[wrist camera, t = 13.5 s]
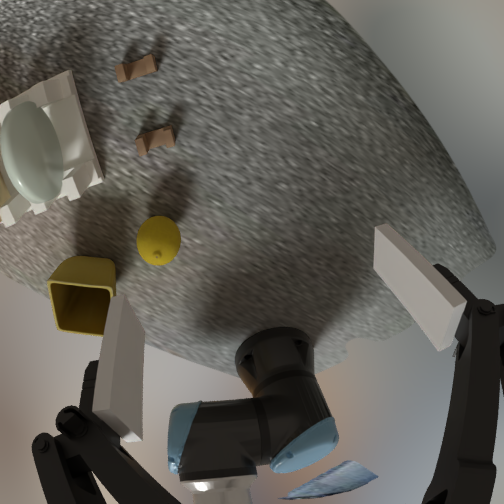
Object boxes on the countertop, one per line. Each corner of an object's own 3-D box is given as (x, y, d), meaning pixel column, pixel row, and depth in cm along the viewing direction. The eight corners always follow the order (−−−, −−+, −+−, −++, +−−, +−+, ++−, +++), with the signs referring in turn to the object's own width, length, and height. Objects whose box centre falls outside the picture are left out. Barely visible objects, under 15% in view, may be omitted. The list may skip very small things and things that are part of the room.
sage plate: (72, 178, 34) (38, 217, 25) (63, 182, 34) (28, 222, 24) (45, 96, 28) (-1, 109, 19) (35, 101, 28) (-12, 116, 18)
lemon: (134, 212, 40) (126, 242, 34) (174, 201, 41) (173, 229, 34) (147, 247, 43) (142, 281, 37) (185, 237, 44) (186, 270, 37)
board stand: (175, 140, 36) (174, 145, 34) (142, 150, 36) (139, 156, 34) (154, 55, 30) (151, 54, 28) (119, 66, 30) (114, 66, 28)
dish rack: (104, 179, 37) (90, 200, 31) (3, 220, 36) (-20, 245, 30) (71, 69, 29) (48, 70, 23) (-33, 128, 27) (-62, 141, 21)
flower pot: (70, 291, 44) (56, 331, 37) (65, 242, 40) (45, 280, 33) (123, 296, 47) (116, 338, 39) (122, 247, 42) (112, 287, 35)
